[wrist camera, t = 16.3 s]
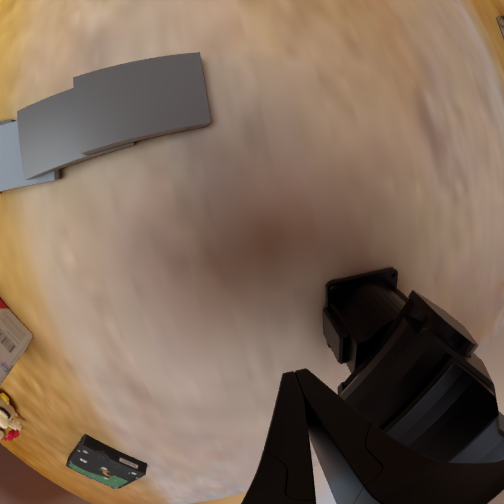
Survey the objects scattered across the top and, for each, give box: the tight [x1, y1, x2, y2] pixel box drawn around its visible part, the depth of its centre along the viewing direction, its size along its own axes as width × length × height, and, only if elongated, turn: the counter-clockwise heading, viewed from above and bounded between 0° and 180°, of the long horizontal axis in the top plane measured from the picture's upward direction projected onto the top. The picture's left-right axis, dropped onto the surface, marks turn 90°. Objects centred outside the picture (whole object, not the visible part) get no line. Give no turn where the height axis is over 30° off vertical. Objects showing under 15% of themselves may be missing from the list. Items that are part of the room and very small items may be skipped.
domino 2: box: [17, 88, 134, 180], centre depth 14 cm, size 2×5×8 cm
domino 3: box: [73, 52, 211, 155], centre depth 14 cm, size 2×5×8 cm
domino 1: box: [0, 121, 60, 191], centre depth 14 cm, size 2×5×8 cm
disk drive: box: [66, 434, 147, 489], centre depth 28 cm, size 10×3×15 cm
